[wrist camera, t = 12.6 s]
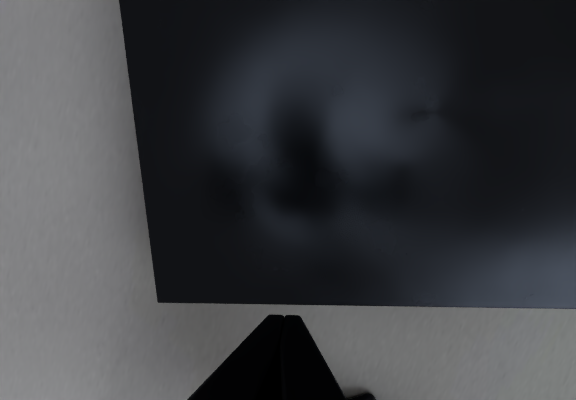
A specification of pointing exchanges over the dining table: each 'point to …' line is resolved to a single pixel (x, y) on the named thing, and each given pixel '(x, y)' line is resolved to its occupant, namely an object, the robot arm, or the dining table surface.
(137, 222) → the dining table surface
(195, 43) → the laptop screen
